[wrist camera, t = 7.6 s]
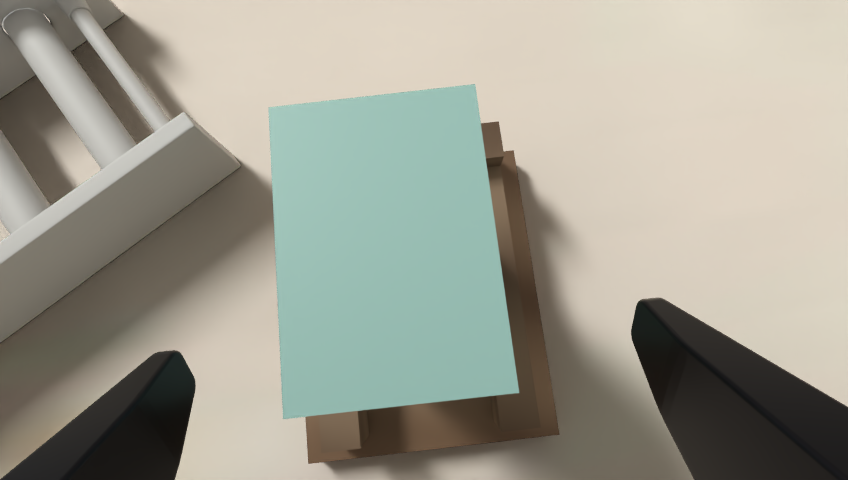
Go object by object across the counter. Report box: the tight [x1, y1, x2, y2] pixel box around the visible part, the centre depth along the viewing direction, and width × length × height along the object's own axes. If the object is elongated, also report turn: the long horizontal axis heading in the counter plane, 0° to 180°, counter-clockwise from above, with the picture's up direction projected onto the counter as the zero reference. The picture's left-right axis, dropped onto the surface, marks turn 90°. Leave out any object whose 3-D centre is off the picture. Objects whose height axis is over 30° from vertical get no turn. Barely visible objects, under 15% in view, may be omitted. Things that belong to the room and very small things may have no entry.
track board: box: [306, 122, 559, 464], centre depth 19 cm, size 12×10×4 cm
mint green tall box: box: [269, 84, 519, 419], centre depth 14 cm, size 6×4×12 cm, turn 6°
